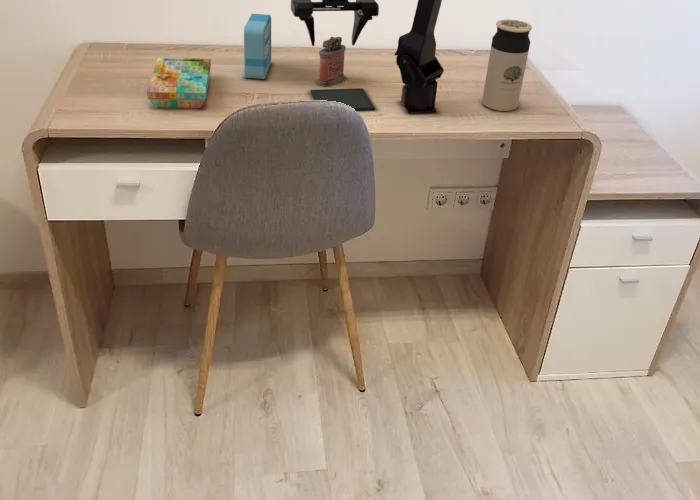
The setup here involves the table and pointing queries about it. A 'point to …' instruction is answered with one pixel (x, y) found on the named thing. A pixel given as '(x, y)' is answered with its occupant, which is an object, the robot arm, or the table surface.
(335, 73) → the lighter
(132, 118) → the table surface
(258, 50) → the data package
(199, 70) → the puzzle game
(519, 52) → the travel mug
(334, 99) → the desk mat
